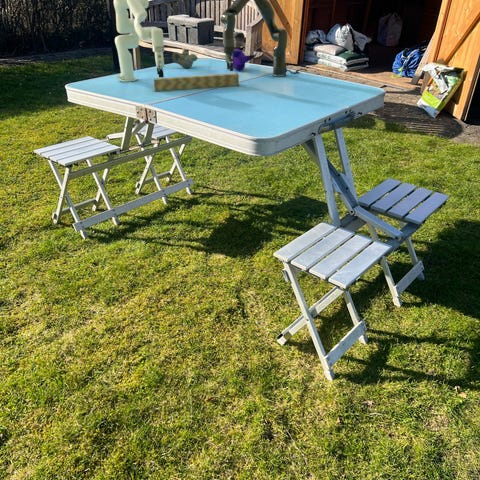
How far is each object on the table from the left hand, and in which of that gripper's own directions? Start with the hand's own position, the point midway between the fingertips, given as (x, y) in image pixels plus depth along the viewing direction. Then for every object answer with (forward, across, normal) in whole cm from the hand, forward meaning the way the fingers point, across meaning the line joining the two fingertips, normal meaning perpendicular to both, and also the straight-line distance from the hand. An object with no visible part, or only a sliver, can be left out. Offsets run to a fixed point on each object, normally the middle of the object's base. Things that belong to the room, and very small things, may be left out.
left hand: (160, 75), depth 306 cm
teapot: (+12, +82, -29) cm, 88 cm away
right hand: (-2, -1, -49) cm, 49 cm away
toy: (+10, +56, -71) cm, 91 cm away
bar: (+9, -1, -25) cm, 26 cm away
